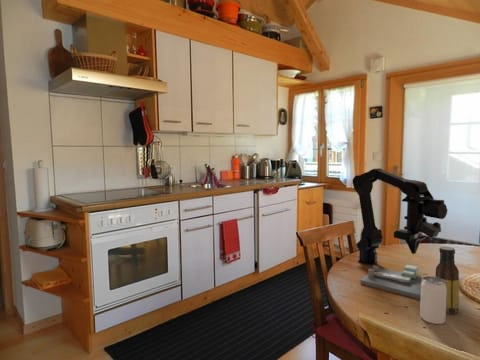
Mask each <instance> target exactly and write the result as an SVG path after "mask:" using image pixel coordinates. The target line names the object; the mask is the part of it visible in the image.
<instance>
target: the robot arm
mask: <svg viewBox="0 0 480 360" xmlns="http://www.w3.org/2000/svg"><path fill="white" fill-rule="evenodd" d="M377 181H381V182H383V183H386V184H388V185H391V186H392V187H394V188H397V189H399V190H400V191H401V193H403V194H404V195H406V196H405V197H404V198H403V199H401V202H404V203H405V202H406V203H407V205H406V207H407V208H406V215H405V216H404V220H406V225H405V226H404V227H403V229H398V230H397V229H396V230H395V231H394V232H393V239H394V238H395V239H399V240H403V241H405V242H406V244H407V246H408V248H409V252H410V253H411V254H412V255H415V254H416V253H417V251H418V249H419V246H420V244H421V241H422V240H425V239H426V238H427V237H428V238H431V239H433V238H437V237H438V235H439V233H441V232H442V228H441V225H442V224H441V223H440V222H438V221H436V222H433V223H432V222H428V221H427V220H428V219H427V217H428V218H433V219H439V220H444V219H446V217H447V214H448V207H447V205H446V203H445V200H444V199H434V196H433V195H432V193H431V192H430V190H429V188H428V186H427V183H425V182H424V181H420V180H416V179H415V180H414V179H407V178H404V177H402V176H399V175H396V174H394V173H392V172H389V171H386V170H384V169H382V168H380V167H379V168H372V169H370V170H368V171H366V172H364V173H361V174H357V175H354V177H353V178H352V184H353V189H354V191H355V192H356V193H357V195H358V200H359V204H360V212H361V219H362V225H363V227H362V230H361V234H360V236H361V237H360V238H361V239H360V240H359V241H358V242H356V248H357V250H359V253H358V254H359V259H358V260H357V262H358V263H362V264H367V265H371V266H373V265H375V263H377V262H378V252H377V249H379V247H380V245H381V244H382V242H383V239H384V237H383V234H382V229H381V228H379V229H378V227H377V226H376V222H375V214H374V207H373V201H372V195H371V193H372V190H373V187H374V183H375V182H377Z"/></svg>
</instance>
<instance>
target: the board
mask: <svg viewBox="0 0 480 360" xmlns="http://www.w3.org/2000/svg"><path fill="white" fill-rule="evenodd" d="M374 271H376V272H382V273H387V274H393V275H399V276H404V274H403V272H400V271H399V272H398V271H395V270H390V269H387V268H386V269H385V268H382V267H379V266H377V265H375V264H373V265H372V268H368V269H367V275H365V276H363V277H362V278H361V279H360V285H364V286H368V287H371V288H375V289H379V290H381V291H386V292H390V293H395V294H399V295H402V296H405V297H406V296H407V297H410V298H413V299H417V300H420V301H421V283H422V281H423V278H424V277H422V274H420V273H418V276H417V278H416V279H414V278H411V280H410V282H404V281H399V280H393V279H388V278H383V277H377V276H374ZM404 277H405V276H404Z"/></svg>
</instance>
